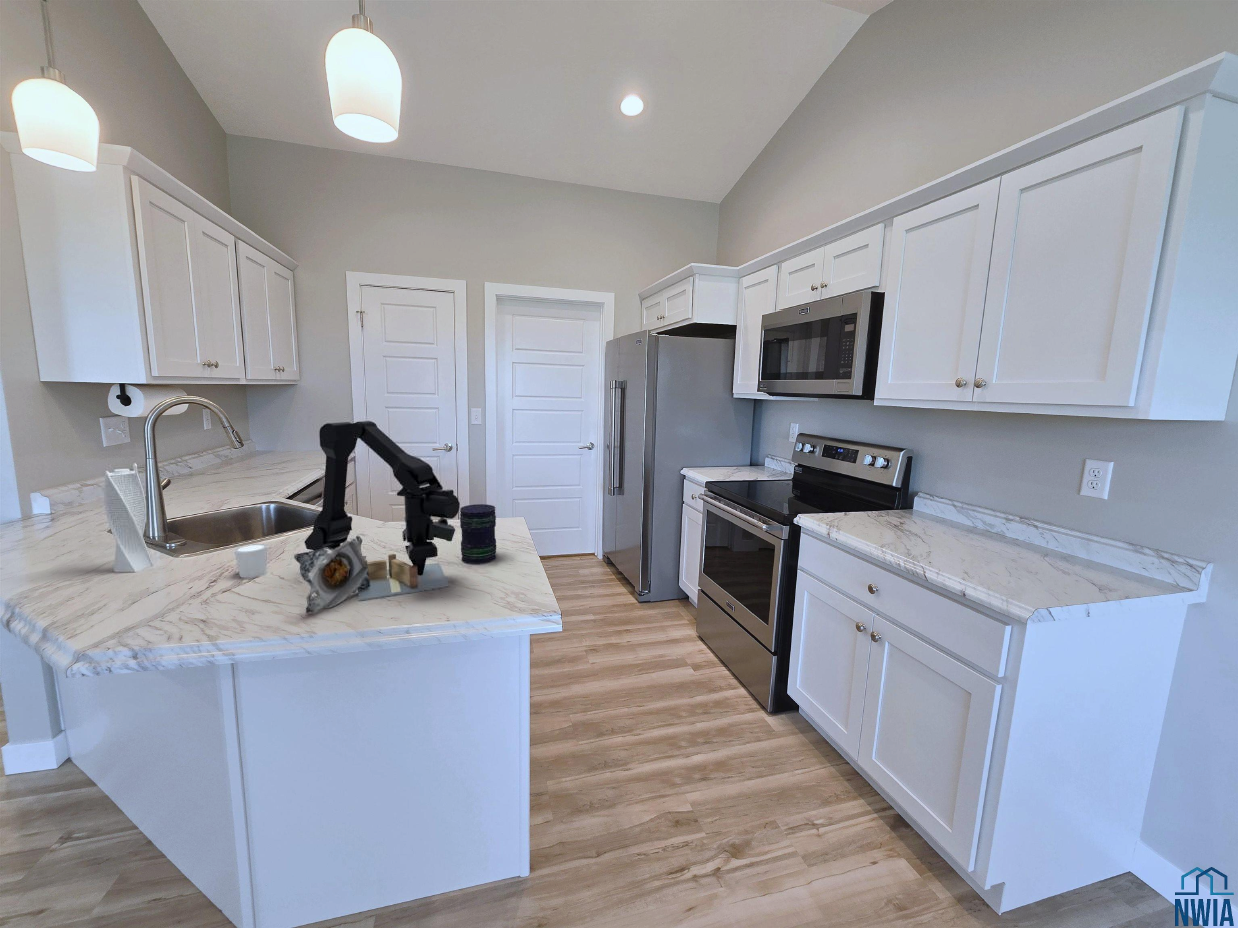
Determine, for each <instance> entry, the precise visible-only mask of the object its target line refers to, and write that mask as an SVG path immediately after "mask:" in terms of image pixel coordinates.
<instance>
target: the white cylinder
mask: <svg viewBox="0 0 1238 928" xmlns="http://www.w3.org/2000/svg"><path fill="white" fill-rule="evenodd" d="M234 555H235V560H236V564H237V568H238V569H237V570H238V573H239V578H242V579H243V578H244V579H250V578H251V579H252V578H257V577H261V576H263V575H265V574H267V569H268V545H266V544H259V543H258V544H248V545H244V546H241V547H237V548H236V549H234Z"/></svg>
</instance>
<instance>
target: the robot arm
mask: <svg viewBox="0 0 1238 928" xmlns="http://www.w3.org/2000/svg"><path fill="white" fill-rule="evenodd" d="M318 432H319V433H318V436H319V446H320V448H321V451H323V453H324V454H325V465H324V466H325V468H324V469H325V470H324V483H323V484H324V485H323V498H322V509H321V511H320V512H319V513H318V514H317V516H316V518H315V519H314V522H313V523H314V524H313V527H312V531H311V532H310V534H309V535H308V536H307V537H306V539H305V540H304V546H305V548H306V550H309V551H313V550H314V551H316V550H319V549H322V548H331V549H336V548H337V547H339V546H341V545H342V544H343V543H344V542H345V541H346V540H348V537H349V535H350V533H351V531H353V529H352V523H353V516H349V515H348V513H347V512H346V510H345V502H346V490H347V489H346V488H347V479H348V477H347V476H348V465H349V457H350V455H351V454H352V452H354V450H355V449H356V447H357V444H358V442H357V441H358V439H359V440H360V441H362V443H364V444H365V445H366V446H367V447H368V448H369V449H370V450H371V451H372V452H374V454H376V455H377V456H378V457H379V458H380V459H381V460H383V462H385V463H386V464H387V465H388V466H389V467H390V468H391V470H392V475H393V477H394V478H395V479H396V481H397V482H398V483H399V484H400V485H401V489H400V490H398V491H397V492H396V496H398V497H404V524H405V529H403V531H402V532H401V534H402V536H401V537H402V541H403V542H406V543H408V544H407V545H405V546H404V547H405V550H406V554H407V557H408V559H409V560H410V562H411V564H412V565H416V566H417V574H418V576H421V575H423V572H424V568H425V564H427V563H426V562H427V559H428V558H429V559H430V558H436V557H438V551H439V550H438V547H437V545H436V543H434V542H433V541H434V540H435V538H436V539H440V540H443V541H444V540H445V541H446V542H452V541H453V538H454V535H455V532H456V528H455V527H454V526H453V525H452V524H451V523H450V524H449V521H448V519H451V520H452V519H454V518H456V517H457V515H458V514H459V511H460V508H461V507H460V506H461V505H460V501H459V498H458V496H456V495H455V494H454V490H453V489H444V487H443V486H442V484H441V482H440V481H439V479H438V477H437V476H436V474H435V472H434V469H433V468H432V466H431V464H429V463H428V462H426V461H424V460H422V459H421V458H419V457H417V456H414V455H410V454H409V453H408V452H406V451H405V450H403V448H402V447H400V446H399V445H398V444H397V443H396V442H395V441H394V440H392V439H391V438H390V437H389V436H388V435H387V434H385V433H384V432H383V431H382V430H381V429H380V428H379V427H378V425H377V424H376V422H374V421H372V420H360V421H356V422H350V421H343V422H342V421H341V422H328V423H325V424H323V425H322V426H320V428H319V431H318ZM432 517H433V518H439V519H438V520H435V521H434V520H433V519H432Z"/></svg>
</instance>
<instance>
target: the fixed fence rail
mask: <svg viewBox="0 0 1238 928" xmlns="http://www.w3.org/2000/svg"><path fill="white" fill-rule="evenodd" d="M365 564H366V565H367V566H368V573H369V579H370V581H372V580H379V579H386V578H387V570H388V565H387V564H388V563H387V559H381V560H373V561H368V560H366V559H365Z"/></svg>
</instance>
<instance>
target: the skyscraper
mask: <svg viewBox="0 0 1238 928" xmlns="http://www.w3.org/2000/svg"><path fill="white" fill-rule="evenodd" d="M132 465H133V467H132V468H133V470H130V468H118V469H113V472H110V471H108V470H106V471H105V476H104V490H103V495H104V496H103V499H104V500H103V501H104V510H105V515H106V519H107V523H108V526H109V528H110V530H111V533H112V536H113V537H114V540H115V543H116V544H115V553H114V563H113V572H114V573H137V572H139V571H141V570H142V571H143V570H145V569H147V568H149V567H153V566H154V562H153V560H152V557H151V555H150V551H149V549H148V547H147V545H146V542H145V539H144V532H145V527H146V522H147V501H146V500H147V499H146V495H145V492H144V487H143V484H142V482H141V479H140V476H139V473H138V471H139V470H138V465H137V463H136V462H135V463H133V464H132Z"/></svg>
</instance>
